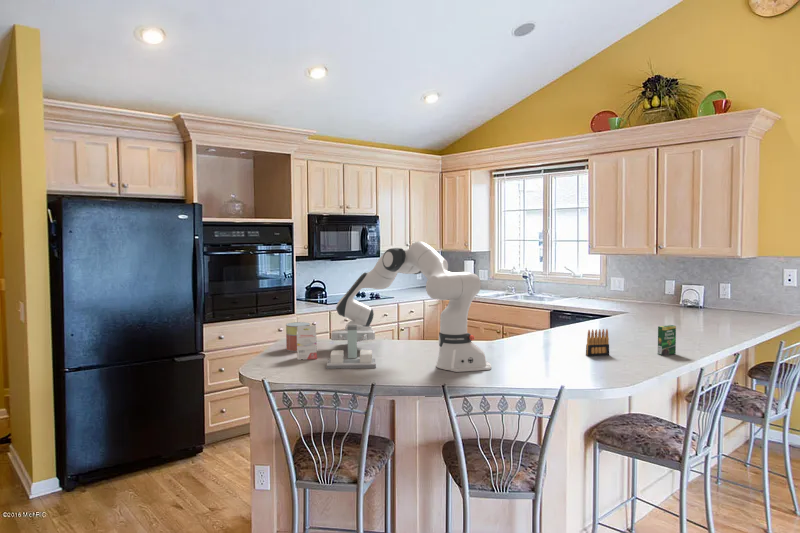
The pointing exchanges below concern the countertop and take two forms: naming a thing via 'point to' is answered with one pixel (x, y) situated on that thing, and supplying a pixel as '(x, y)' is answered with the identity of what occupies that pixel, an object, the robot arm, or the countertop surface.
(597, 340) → the ammunition clip
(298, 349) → the ink cartridge box
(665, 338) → the coffee box
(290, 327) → the canned food
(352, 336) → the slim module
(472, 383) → the countertop surface
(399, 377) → the countertop surface
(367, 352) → the mounting board
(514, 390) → the countertop surface
